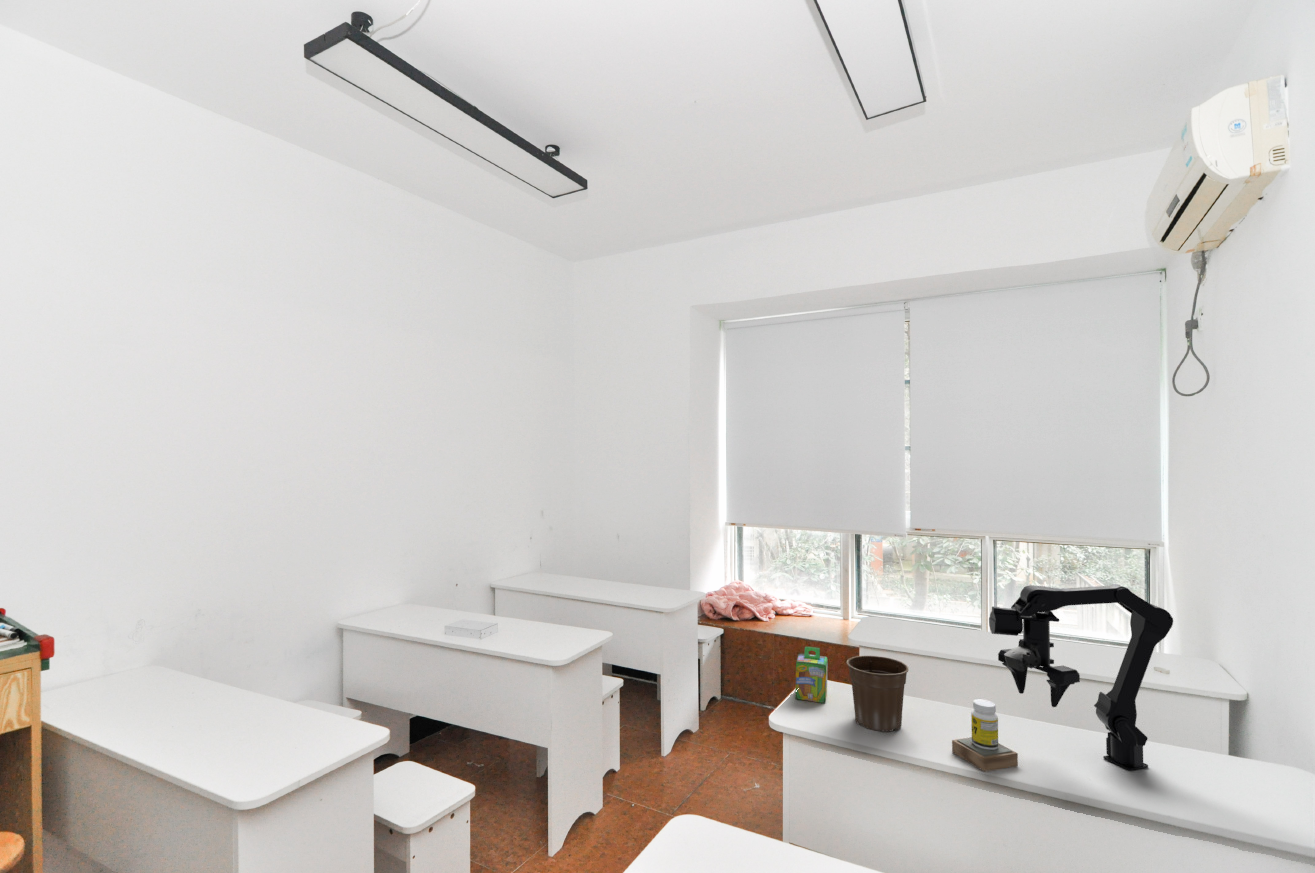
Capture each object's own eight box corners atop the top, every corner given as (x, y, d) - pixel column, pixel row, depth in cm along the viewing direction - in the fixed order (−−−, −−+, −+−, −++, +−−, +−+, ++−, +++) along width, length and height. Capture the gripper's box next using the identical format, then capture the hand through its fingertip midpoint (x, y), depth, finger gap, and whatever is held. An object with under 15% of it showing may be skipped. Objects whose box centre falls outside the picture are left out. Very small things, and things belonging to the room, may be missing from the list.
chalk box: (795, 699, 185) (795, 650, 186) (797, 689, 193) (798, 642, 194) (826, 703, 182) (826, 653, 183) (827, 693, 191) (828, 645, 191)
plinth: (1017, 765, 145) (1017, 751, 145) (984, 771, 142) (984, 757, 142) (983, 747, 155) (983, 734, 155) (952, 752, 152) (952, 738, 152)
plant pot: (850, 732, 162) (850, 671, 163) (843, 709, 178) (843, 653, 179) (915, 738, 159) (914, 675, 160) (901, 713, 175) (901, 657, 176)
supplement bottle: (969, 738, 152) (969, 696, 153) (995, 741, 150) (994, 699, 151) (974, 748, 147) (973, 705, 147) (1000, 752, 145) (1000, 708, 145)
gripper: (981, 629, 160) (981, 689, 159) (1045, 650, 142) (1046, 717, 142) (1014, 626, 163) (1015, 685, 163) (1080, 646, 146) (1082, 713, 145)
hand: (1037, 699), depth 153 cm, fingers open, 9 cm apart
